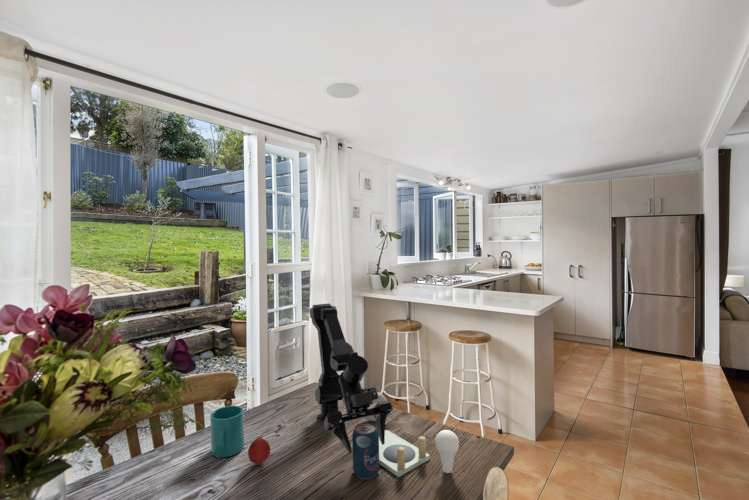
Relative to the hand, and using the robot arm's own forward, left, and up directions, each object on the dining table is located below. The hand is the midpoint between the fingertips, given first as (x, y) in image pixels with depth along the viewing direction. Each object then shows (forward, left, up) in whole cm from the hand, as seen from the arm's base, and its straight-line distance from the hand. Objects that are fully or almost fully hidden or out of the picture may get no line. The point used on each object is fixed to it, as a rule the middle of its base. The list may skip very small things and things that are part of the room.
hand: (367, 448), depth 97 cm
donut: (-21, +19, -7) cm, 29 cm away
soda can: (-1, 0, -7) cm, 7 cm away
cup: (-35, -25, -7) cm, 43 cm away
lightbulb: (+13, +16, -7) cm, 22 cm away
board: (-3, +11, -7) cm, 14 cm away
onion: (-23, -20, -7) cm, 31 cm away
